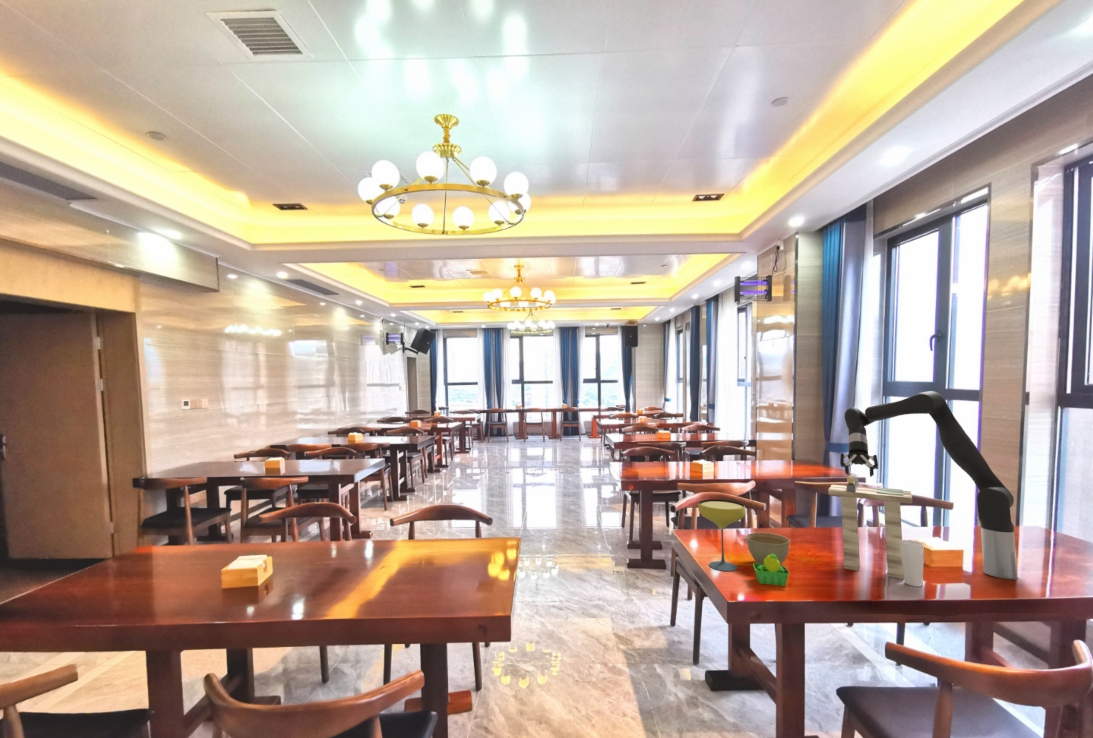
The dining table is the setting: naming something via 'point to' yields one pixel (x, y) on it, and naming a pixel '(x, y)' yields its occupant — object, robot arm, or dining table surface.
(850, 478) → the crank handle
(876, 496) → the shelf
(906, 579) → the drinking glass
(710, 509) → the cocktail glass
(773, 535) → the planter bowl
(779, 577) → the fruit basket
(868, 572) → the dining table surface
